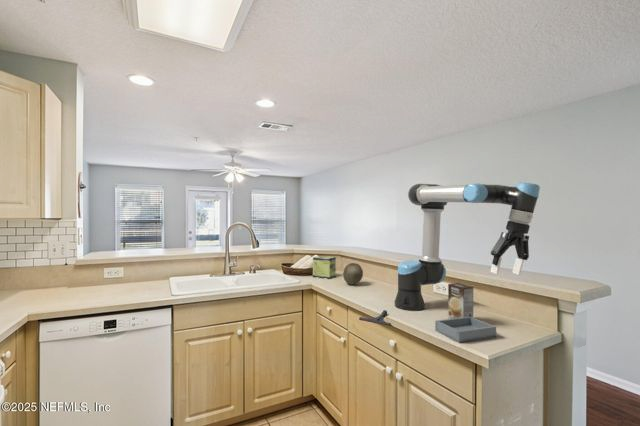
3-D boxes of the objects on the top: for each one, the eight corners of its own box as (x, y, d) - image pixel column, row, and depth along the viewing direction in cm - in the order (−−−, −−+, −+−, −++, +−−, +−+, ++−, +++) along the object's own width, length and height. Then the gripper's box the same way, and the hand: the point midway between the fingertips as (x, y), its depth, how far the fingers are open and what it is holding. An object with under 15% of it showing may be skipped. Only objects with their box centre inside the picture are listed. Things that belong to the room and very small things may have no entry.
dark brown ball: (339, 285, 207) (339, 263, 207) (348, 282, 219) (348, 261, 219) (358, 288, 199) (358, 265, 200) (366, 284, 211) (366, 262, 212)
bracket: (400, 318, 142) (400, 312, 142) (389, 327, 129) (389, 320, 129) (371, 313, 149) (371, 307, 149) (359, 321, 137) (359, 315, 137)
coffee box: (447, 318, 139) (447, 283, 139) (457, 316, 141) (457, 282, 142) (463, 325, 131) (463, 287, 131) (474, 323, 133) (474, 286, 133)
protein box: (329, 279, 229) (329, 258, 229) (312, 277, 237) (312, 257, 237) (336, 277, 238) (336, 257, 238) (319, 275, 246) (319, 256, 246)
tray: (435, 330, 124) (435, 320, 124) (470, 325, 130) (470, 316, 130) (458, 342, 112) (458, 332, 112) (496, 337, 117) (496, 326, 117)
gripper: (507, 220, 110) (492, 276, 112) (547, 227, 120) (533, 277, 123) (489, 216, 116) (475, 268, 119) (528, 223, 127) (515, 270, 129)
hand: (505, 273), depth 121 cm, fingers open, 13 cm apart
